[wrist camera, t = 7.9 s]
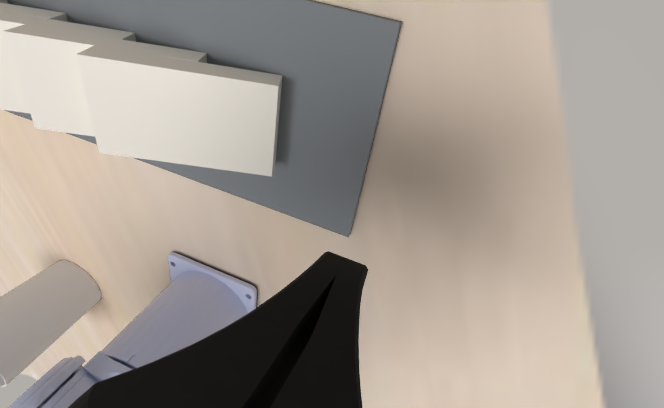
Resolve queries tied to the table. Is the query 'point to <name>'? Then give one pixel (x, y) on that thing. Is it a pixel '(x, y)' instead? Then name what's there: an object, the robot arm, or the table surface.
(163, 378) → the robot arm
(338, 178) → the felt mat
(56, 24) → the domino
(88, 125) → the domino
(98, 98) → the domino
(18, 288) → the drinking glass
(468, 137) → the table surface
